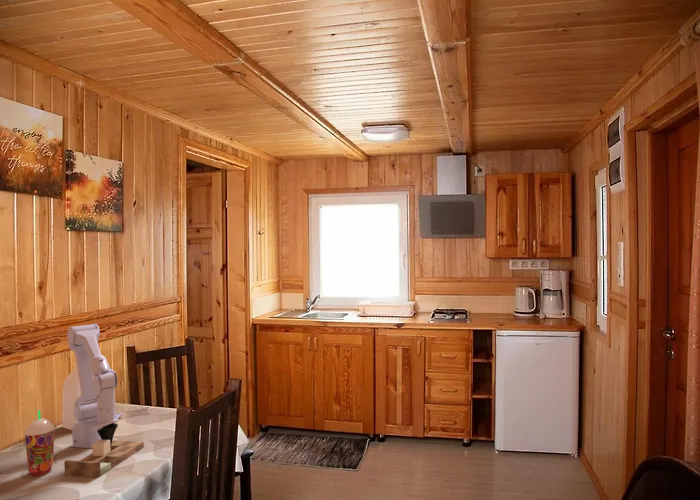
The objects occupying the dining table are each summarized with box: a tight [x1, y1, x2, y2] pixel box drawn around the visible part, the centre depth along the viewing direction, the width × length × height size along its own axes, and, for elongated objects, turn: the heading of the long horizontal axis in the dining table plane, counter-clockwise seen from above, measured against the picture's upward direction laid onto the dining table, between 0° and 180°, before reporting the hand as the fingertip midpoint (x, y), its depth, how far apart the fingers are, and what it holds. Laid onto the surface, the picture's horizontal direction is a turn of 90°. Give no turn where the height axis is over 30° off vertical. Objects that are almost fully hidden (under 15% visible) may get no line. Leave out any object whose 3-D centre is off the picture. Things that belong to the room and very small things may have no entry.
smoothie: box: [23, 409, 56, 477], centre depth 164 cm, size 8×8×20 cm
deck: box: [63, 440, 145, 478], centre depth 171 cm, size 12×24×4 cm, turn 170°
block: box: [91, 440, 111, 456], centre depth 172 cm, size 4×4×4 cm
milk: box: [61, 362, 96, 431], centre depth 209 cm, size 12×12×26 cm
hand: (107, 446), depth 176 cm, fingers closed
